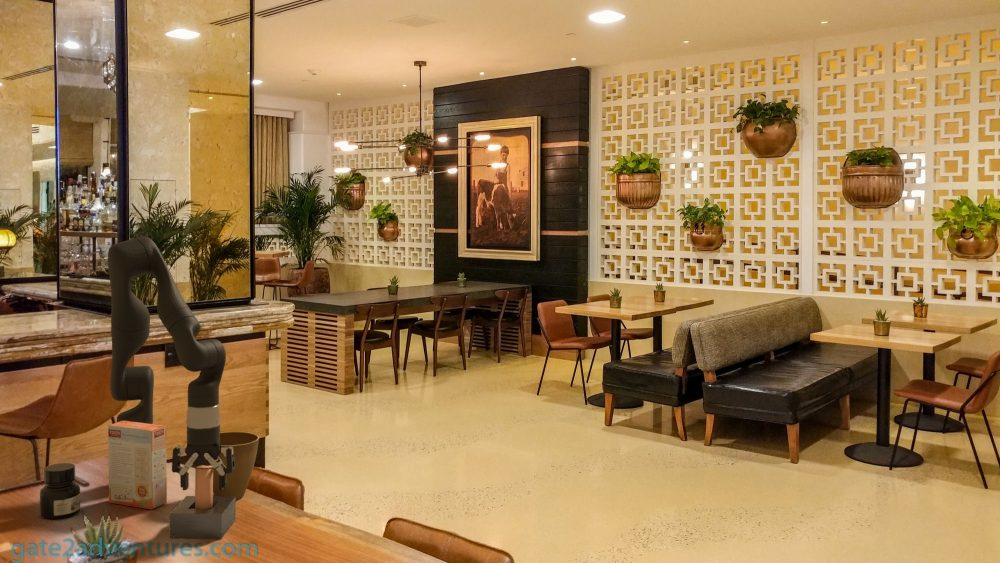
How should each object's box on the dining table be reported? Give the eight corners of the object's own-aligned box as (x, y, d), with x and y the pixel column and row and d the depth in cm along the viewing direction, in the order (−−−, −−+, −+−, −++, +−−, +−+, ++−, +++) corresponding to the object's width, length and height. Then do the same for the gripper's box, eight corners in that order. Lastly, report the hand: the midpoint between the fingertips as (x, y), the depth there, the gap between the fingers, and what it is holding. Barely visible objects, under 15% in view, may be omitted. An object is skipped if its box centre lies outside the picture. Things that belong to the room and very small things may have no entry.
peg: (197, 521, 202) (198, 465, 201) (214, 521, 202) (215, 465, 201) (192, 527, 198) (193, 469, 197) (209, 527, 198) (210, 470, 197)
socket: (186, 519, 206) (186, 495, 206) (235, 519, 207) (235, 496, 206) (169, 538, 194) (169, 513, 194) (221, 538, 195) (221, 513, 194)
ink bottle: (62, 522, 202) (61, 474, 201) (30, 519, 204) (29, 471, 203) (89, 508, 211) (88, 462, 210) (59, 505, 213) (58, 459, 212)
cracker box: (168, 503, 217) (167, 424, 215) (151, 511, 211) (150, 430, 209) (125, 496, 221) (124, 419, 220) (107, 503, 216) (106, 424, 214)
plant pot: (257, 504, 218) (258, 444, 217) (197, 507, 214) (197, 446, 213) (259, 485, 232) (260, 429, 231) (203, 488, 229) (203, 431, 227)
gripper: (237, 419, 202) (237, 484, 204) (178, 418, 202) (178, 483, 203) (229, 427, 195) (229, 495, 196) (167, 426, 194) (168, 494, 196)
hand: (203, 489), depth 200 cm, fingers open, 8 cm apart
